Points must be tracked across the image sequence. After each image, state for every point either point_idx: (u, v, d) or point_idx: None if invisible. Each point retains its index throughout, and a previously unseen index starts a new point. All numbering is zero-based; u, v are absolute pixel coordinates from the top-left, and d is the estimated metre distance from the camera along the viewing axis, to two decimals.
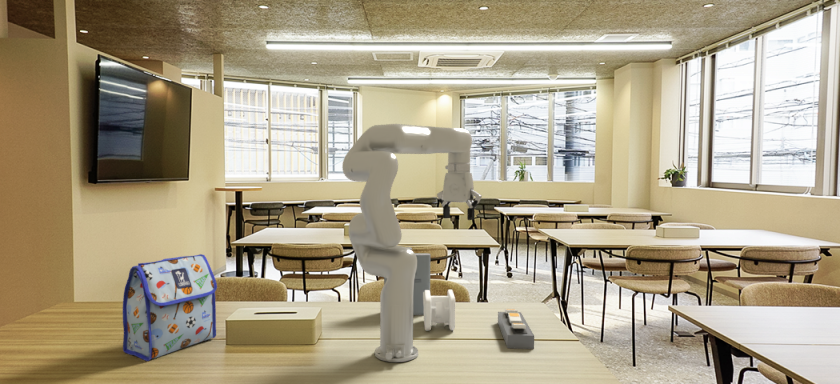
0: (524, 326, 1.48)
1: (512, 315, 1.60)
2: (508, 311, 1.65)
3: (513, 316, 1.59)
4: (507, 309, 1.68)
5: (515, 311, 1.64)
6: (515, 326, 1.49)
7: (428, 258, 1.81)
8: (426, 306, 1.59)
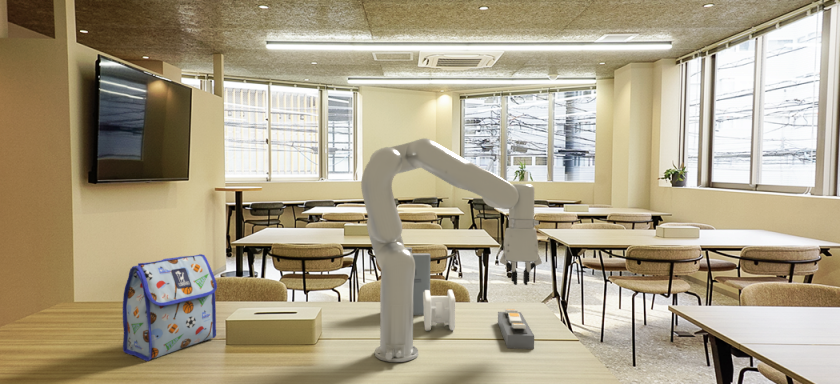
0: (524, 326, 1.48)
1: (512, 315, 1.60)
2: (508, 311, 1.65)
3: (513, 316, 1.59)
4: (507, 309, 1.68)
5: (515, 311, 1.64)
6: (515, 326, 1.49)
7: (428, 258, 1.81)
8: (426, 306, 1.59)
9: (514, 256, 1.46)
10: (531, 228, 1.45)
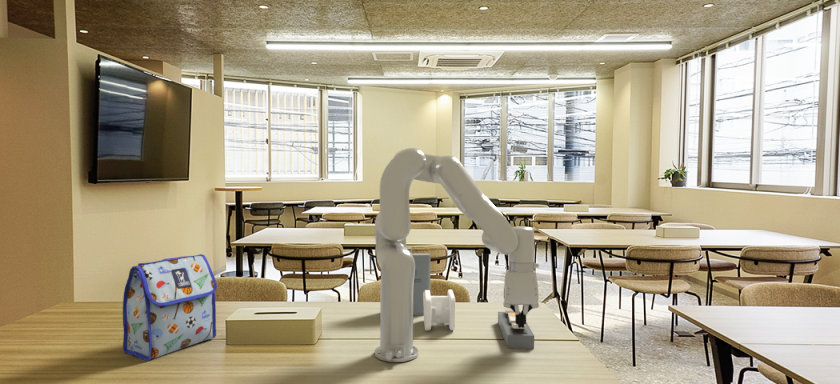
0: (524, 326, 1.48)
1: (512, 315, 1.60)
2: (508, 311, 1.65)
3: (513, 316, 1.59)
4: (507, 309, 1.68)
5: None
6: (515, 326, 1.49)
7: (428, 258, 1.81)
8: (426, 306, 1.59)
9: (514, 299, 1.47)
10: (531, 271, 1.46)
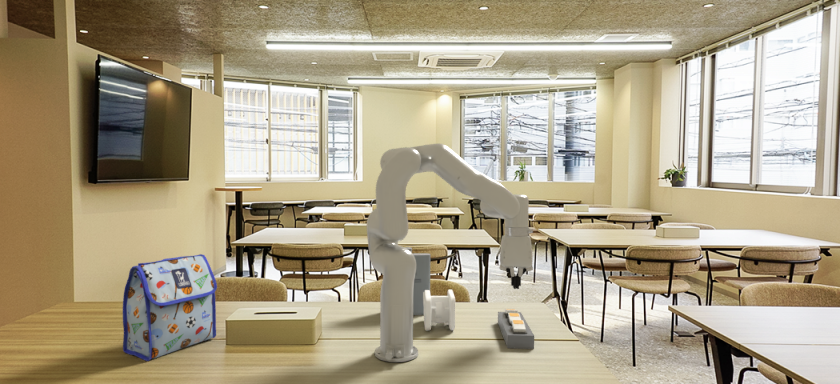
0: (524, 330, 1.49)
1: (512, 315, 1.60)
2: (508, 311, 1.65)
3: (513, 316, 1.59)
4: (507, 309, 1.68)
5: (515, 311, 1.64)
6: (515, 330, 1.49)
7: (428, 258, 1.81)
8: (426, 306, 1.59)
9: (509, 262, 1.56)
10: (525, 236, 1.55)
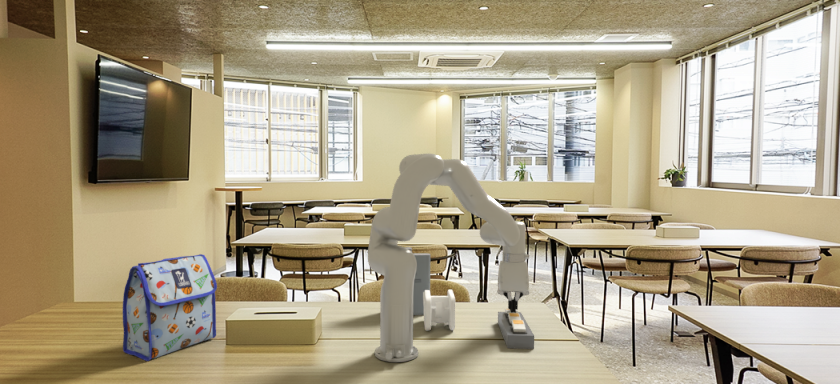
0: (524, 330, 1.49)
1: (512, 315, 1.60)
2: (508, 311, 1.65)
3: (513, 316, 1.59)
4: (507, 309, 1.67)
5: None
6: (515, 330, 1.49)
7: (428, 258, 1.81)
8: (426, 306, 1.59)
9: (507, 287, 1.62)
10: (522, 262, 1.61)
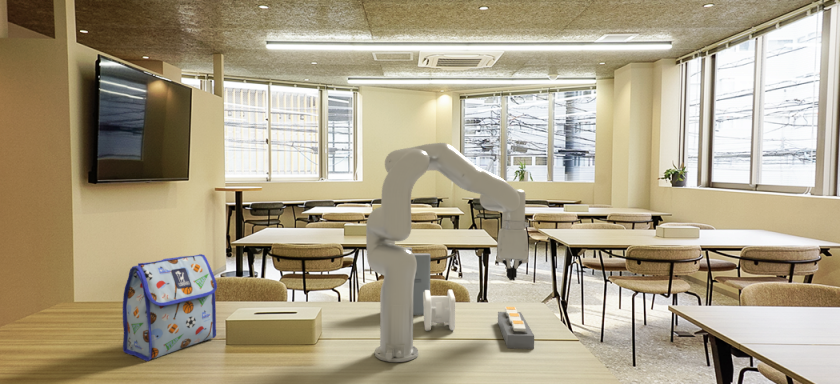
0: (524, 329, 1.48)
1: (512, 315, 1.60)
2: None
3: (513, 316, 1.59)
4: (507, 309, 1.67)
5: None
6: (515, 329, 1.49)
7: (428, 258, 1.81)
8: (426, 306, 1.59)
9: (506, 254, 1.62)
10: (522, 229, 1.61)
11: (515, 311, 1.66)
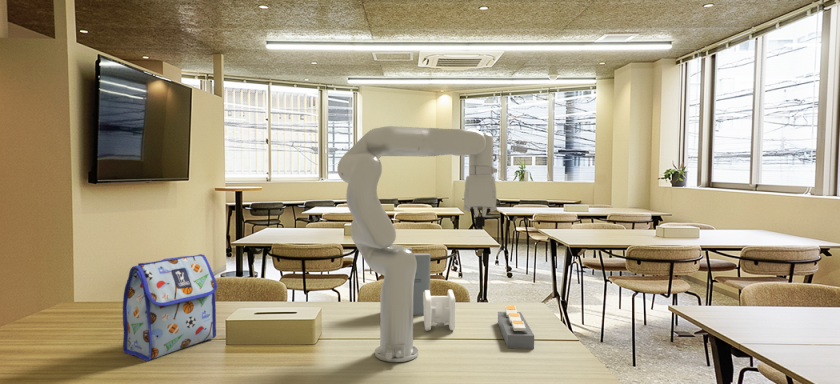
0: (524, 329, 1.48)
1: (512, 315, 1.60)
2: None
3: (513, 316, 1.59)
4: (507, 309, 1.67)
5: None
6: (515, 329, 1.49)
7: (428, 258, 1.81)
8: (426, 306, 1.59)
9: (473, 201, 1.54)
10: (489, 175, 1.53)
11: (515, 312, 1.66)
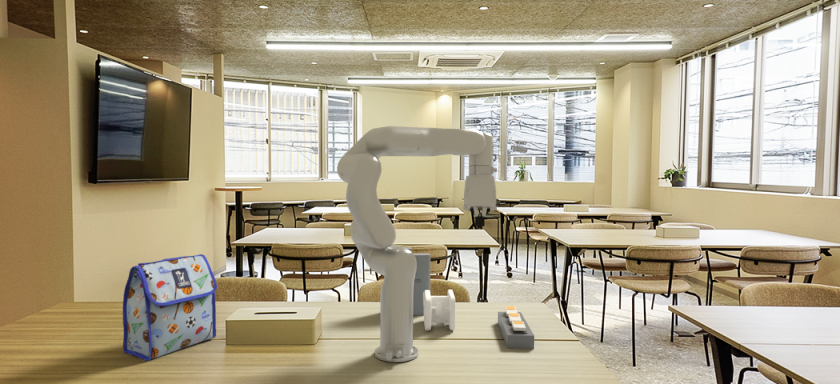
0: (524, 329, 1.48)
1: (512, 315, 1.60)
2: None
3: (513, 316, 1.59)
4: (507, 309, 1.67)
5: None
6: (515, 328, 1.49)
7: (428, 258, 1.81)
8: (426, 306, 1.59)
9: (473, 201, 1.54)
10: (489, 174, 1.53)
11: (515, 311, 1.66)
